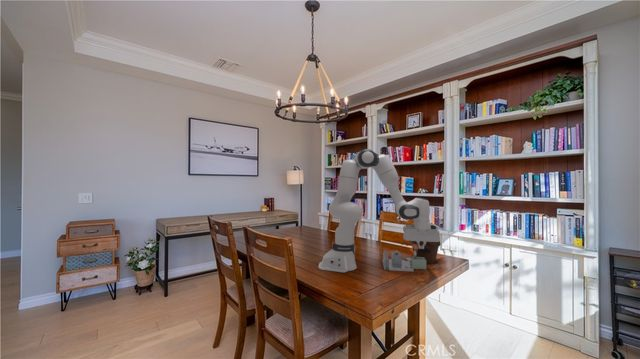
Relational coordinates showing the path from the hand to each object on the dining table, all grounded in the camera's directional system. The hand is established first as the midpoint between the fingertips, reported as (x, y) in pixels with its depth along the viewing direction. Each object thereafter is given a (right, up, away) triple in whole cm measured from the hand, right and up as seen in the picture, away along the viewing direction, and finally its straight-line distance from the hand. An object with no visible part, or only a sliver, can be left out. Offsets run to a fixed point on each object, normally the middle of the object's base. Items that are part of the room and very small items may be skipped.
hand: (421, 248), depth 159 cm
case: (+8, -11, +14) cm, 20 cm away
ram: (-5, -8, +1) cm, 10 cm away
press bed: (-13, -11, +2) cm, 18 cm away
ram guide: (-2, -11, +1) cm, 11 cm away
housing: (-14, -10, +3) cm, 17 cm away
